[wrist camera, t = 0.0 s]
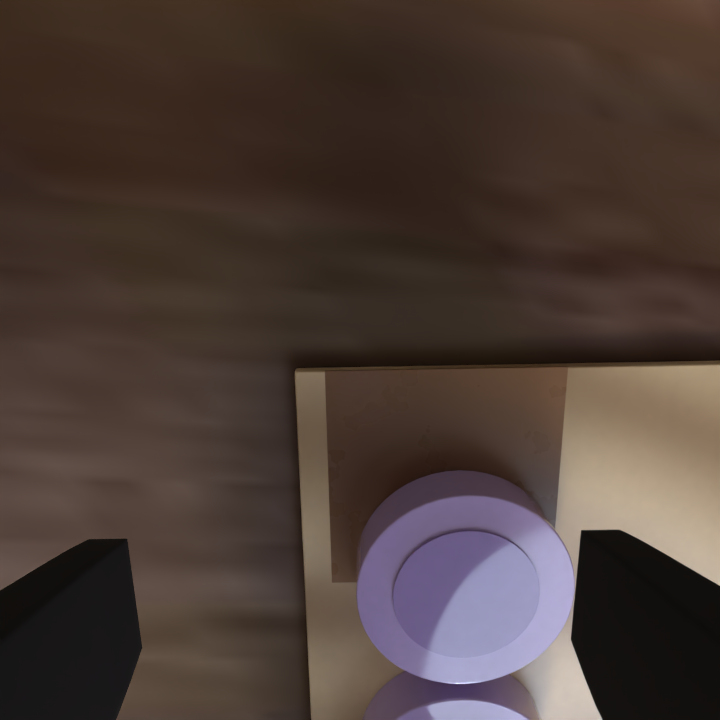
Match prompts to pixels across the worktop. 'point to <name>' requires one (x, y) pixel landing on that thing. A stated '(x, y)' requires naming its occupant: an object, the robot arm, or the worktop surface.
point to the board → (510, 462)
